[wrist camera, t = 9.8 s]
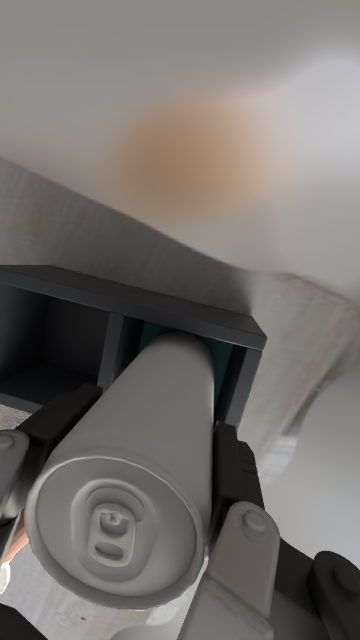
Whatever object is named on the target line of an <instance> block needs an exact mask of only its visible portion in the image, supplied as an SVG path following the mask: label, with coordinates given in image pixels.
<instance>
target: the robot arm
mask: <svg viewBox="0 0 360 640" xmlns="http://www.w3.org/2000/svg"><path fill="white" fill-rule="evenodd" d="M102 395H103V388H102V387H99V386H96V385H92V384H89V383H84V384H83V385H81V386H80V387H79V388H78V389H77V390H76V391H75V392H72V391H66V392H64V393H61V394H58V395H56V396H55V397H54V398H52V399H51V400H50V401H49V402H48V403H46V404H45V405H44V406H42V407H41V409H40V410H37V411H36V412H35V413H34V414H32V415H31V416H30V417H29V418H27V419H26V420H25V421H24V422H22V423H21V424H20V425H19V426H17V427H16V428H15V429H14V430H12V429H6V430H0V570H1V567H2V564H3V562H4V559H5V556H6V554H7V551H8V548H9V546H10V543H11V541H12V538H13V535H14V533H15V530H16V527H17V525H18V522H19V519H20V516H21V510H22V508H23V507H24V506H25V504H26V499H27V494H28V492H29V490H30V489H31V487H32V485H33V484H34V482H35V480H36V478H37V477H38V475H39V474H40V473H41V471H42V468H43V467H44V465H45V463H46V461H47V460H48V458H49V456H50V455H51V453H52V452H53V450H54V449H55V448H56V447H57V446H58V444H59V443H60V442H61V441H62V440H63V439H64V438H65V437H66V435H67V434H68V433H69V432H70V431H71V430H72V429H73V428H74V426H75V425H76V424H77V423H78V422H79V421H80V420H81V419H82V417H83V416H84V415H85V414H86V413H87V412H88V411H89V410H90V409H91V407H92V406H93V405H94V404H95V403H96V402H97V401H98V400H99V398H100V397H101V396H102ZM257 474H258V473H257V468H256V463H255V458H254V453H253V452H252V450H251V449H250V447H249V446H248V444H247V443H246V442H242V441H239V440H238V439H237V431H236V426H234V425H230V424H227V423H223V422H220V421H217V423H216V426H215V429H214V432H213V461H212V510H211V524H210V534H209V536H208V539H207V541H206V543H205V550H204V559H207V560H208V565H207V568H206V570H205V572H204V573H203V575H202V578H201V580H200V582H199V585H198V587H197V590H196V592H195V595H194V598H193V600H192V603H191V605H190V608H189V610H188V613H187V615H186V618H185V620H184V623H183V625H182V628H181V631H180V633H179V635H178V638H177V640H360V570H359V569H358V568H357V567H356V566H355V565H354V564H352V563H351V562H350V561H349V560H347V559H346V558H344V557H343V556H341V555H339V554H337V553H334V552H331V551H321V552H319V553H317V555H316V556H315V558H314V560H313V559H311V558H310V557H308V556H306V555H305V554H303V553H302V552H300V551H299V550H297V549H295V548H294V547H292V546H291V545H289V544H288V543H287V542H285V541H284V540H283V539H282V538H281V537H280V533H279V530H278V527H277V525H276V523H275V522H274V520H273V519H272V518H271V516H270V515H269V514H268V513H267V512H266V511H265V508H264V503H263V498H262V493H261V488H260V483H259V478H258V476H257ZM0 640H48V639H47V638H46V637H45V636H44V635H43V634H42V633H41V632H39V631H38V630H37V629H36V628H35V627H34V626H33V625H32V624H31V623H30V622H29V621H28V620H27V619H26V618H25V617H23V616H22V615H21V614H20V613H19V612H18V611H17V610H16V609H15V608H12V607H9V606H7V605H4V604H1V603H0Z"/></svg>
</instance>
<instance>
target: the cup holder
mask: <svg viewBox="0 0 360 640" xmlns="http://www.w3.org/2000/svg"><path fill="white" fill-rule="evenodd" d="M169 331H184V332H187V333H190V334H193V335H195V336H196V337H198V338H199V339H201V340H202V341H203V342H204V343H205V344H206V346H207V347H208V348H209V350H210V352H211V354H212V356H213V361H214V407H213V432H214V429H215V426H216V423H217V421H220V422H223V423H227V424H230V425H234V426H236V431H238V428H239V425H240V422H241V419H242V415H243V412H244V409H245V406H246V403H247V400H248V397H249V393H250V390H251V387H252V384H253V381H254V378H255V375H256V371H257V368H258V365H259V362H260V359H261V356H262V351H263V349H264V346H265V343H266V340H267V336H266V335H265V333H264V332H263V331H262V329H261V328H260V327H259V325H258V324H257V322H256V321H255V320H254V318H253V317H252V316H249V315H245V314H241V313H237V312H234V311H230V310H226V309H222V308H218V307H214V306H210V305H206V304H202V303H198V302H194V301H190V300H186V299H182V298H178V297H174V296H170V295H166V294H162V293H158V292H154V291H150V290H146V289H142V288H138V287H134V286H130V285H126V284H122V283H118V282H114V281H110V280H106V279H102V278H98V277H94V276H90V275H86V274H82V273H78V272H74V271H71V270H67V269H63V268H59V267H55V266H51V265H0V404H1V405H5V406H8V407H11V408H15V409H18V410H21V411H24V412H28V413H31V414H34V413H35V412H36V411H37V410H40V409H41V407H42V406H44V405H45V404H46V403H48V402H49V401H50V400H51V399H52V398H54V397H55V396H56V395H58V394H61V393H64V392H66V391H72V392H75V391H76V390H77V389H78V388H79V387H80V386H81V385H83V384H84V383H89V384H92V385H96V386H99V387H102V388H103V394H104V393H105V392H106V391H107V389H108V388H109V387H110V386H111V385H112V384H113V383H114V382H115V380H116V379H117V378H118V377H119V376H120V375H121V374H122V373H123V372H124V370H125V369H126V368H127V367H128V366H129V365H130V364H131V363H132V361H133V360H134V359H135V358H136V357H137V356H138V355H139V354H140V352H141V351H142V350H143V349H144V348H145V347H146V346H147V345H148V343H149V342H151V341H152V340H153V339H154V338H155V337H156V336H158V335H160V334H162V333H164V332H169Z"/></svg>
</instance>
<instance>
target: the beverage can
mask: <svg viewBox="0 0 360 640" xmlns="http://www.w3.org/2000/svg"><path fill="white" fill-rule="evenodd" d="M213 407H214V361H213V356H212V354H211V352H210V350H209V348H208V347H207V346H206V344H205V343H204V342H203V341H202V340H201V339H199V338H198V337H196V336H195V335H193V334H190V333H187V332H184V331H169V332H164V333H162V334H160V335H158V336H156V337H155V338H154V339H153V340H152V341H151V342H149V343H148V345H147V346H146V347H145V348H144V349H143V350H142V351H141V352H140V354H139V355H138V356H137V357H136V358H135V359H134V360H133V361H132V363H131V364H130V365H129V366H128V367H127V368H126V369H125V370H124V372H123V373H122V374H121V375H120V376H119V377H118V378H117V379H116V380H115V382H114V383H113V384H112V385H111V386H110V387H109V388H108V389H107V391H106V392H105V393H104V394H103V395H102V396H101V397H100V398H99V400H98V401H97V402H96V403H95V404H94V405H93V406H92V407H91V409H90V410H89V411H88V412H87V413H86V414H85V415H84V416H83V417H82V419H81V420H80V421H79V422H78V423H77V424H76V425H75V426H74V428H73V429H72V430H71V431H70V432H69V433H68V434H67V435H66V437H65V438H64V439H63V440H62V441H61V442H60V443H59V444H58V446H57V447H56V448H55V449H54V450H53V452H52V453H51V455H50V456H49V458H48V460H47V461H46V463H45V465H44V467H43V468H42V471H41V473H40V474H39V475H38V477H37V478H36V480H35V482H34V484H33V485H32V487H31V489H30V490H29V492H28V494H27V499H26V504H25V508H24V523H25V532H26V535H27V538H28V541H29V543H30V546H31V549H32V551H33V553H34V554H35V556H36V557H37V559H38V560H39V562H40V563H41V565H42V566H43V568H44V569H45V570H46V571H47V572H48V573H49V574H50V575H51V576H52V577H53V578H54V579H55V580H56V581H57V582H58V583H59V584H60V585H61V586H63V587H64V588H66V589H67V590H69V591H70V592H72V593H73V594H75V595H76V596H78V597H79V598H82V599H84V600H87V601H89V602H91V603H94V604H96V605H99V606H101V607H106V608H111V609H116V610H121V611H145V610H149V609H153V608H157V607H161V606H165V605H166V604H168V603H170V602H172V601H174V600H175V599H177V598H179V597H181V596H182V595H183V594H184V593H185V592H186V591H187V590H188V589H189V588H190V586H191V585H192V584H193V583H194V582H195V581H196V579H197V576H198V574H199V572H200V569H201V567H202V565H203V562H204V550H205V543H206V541H207V539H208V536H209V534H210V524H211V510H212V461H213Z"/></svg>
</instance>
